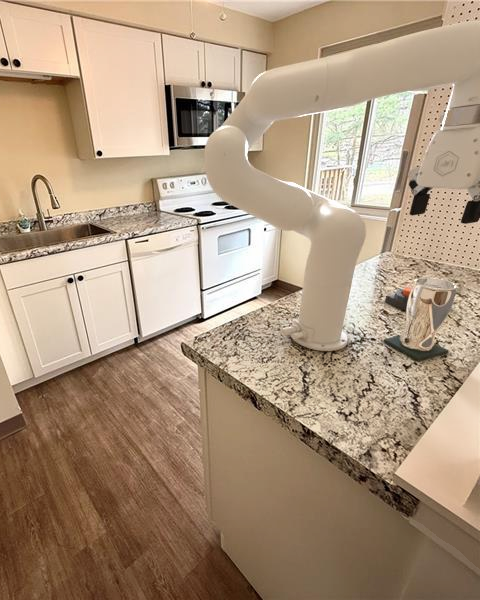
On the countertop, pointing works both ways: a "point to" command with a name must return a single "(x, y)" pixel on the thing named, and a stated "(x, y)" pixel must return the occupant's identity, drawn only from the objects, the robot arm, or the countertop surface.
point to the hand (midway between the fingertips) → (441, 218)
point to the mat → (415, 354)
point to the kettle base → (397, 300)
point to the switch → (407, 291)
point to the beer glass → (426, 312)
